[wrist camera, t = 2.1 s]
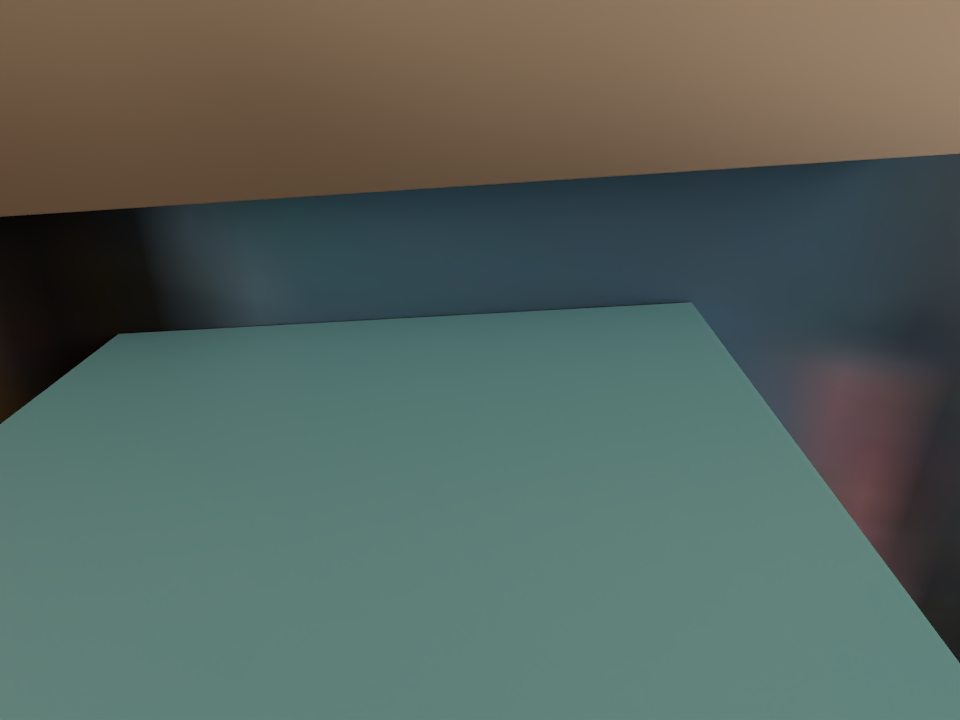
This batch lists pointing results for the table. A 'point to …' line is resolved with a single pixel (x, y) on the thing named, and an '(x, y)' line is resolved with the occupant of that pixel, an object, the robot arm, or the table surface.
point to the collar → (439, 533)
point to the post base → (452, 93)
